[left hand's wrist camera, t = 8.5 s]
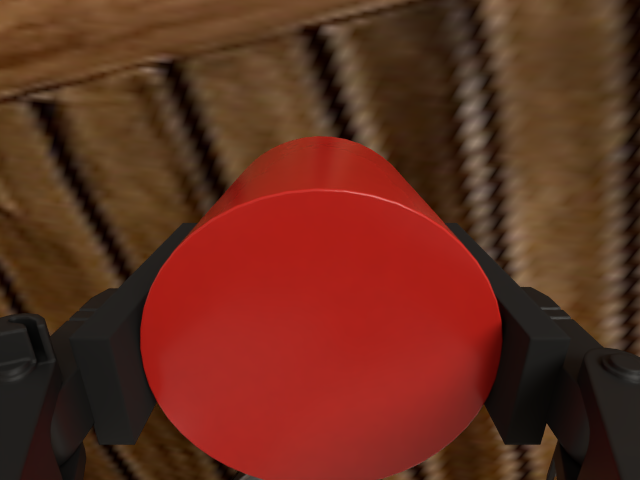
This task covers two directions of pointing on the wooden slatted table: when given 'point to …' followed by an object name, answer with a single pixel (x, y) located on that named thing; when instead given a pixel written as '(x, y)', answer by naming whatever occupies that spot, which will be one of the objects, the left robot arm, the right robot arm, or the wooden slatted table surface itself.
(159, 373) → the canister
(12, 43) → the wooden slatted table surface
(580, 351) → the left robot arm
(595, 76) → the wooden slatted table surface
